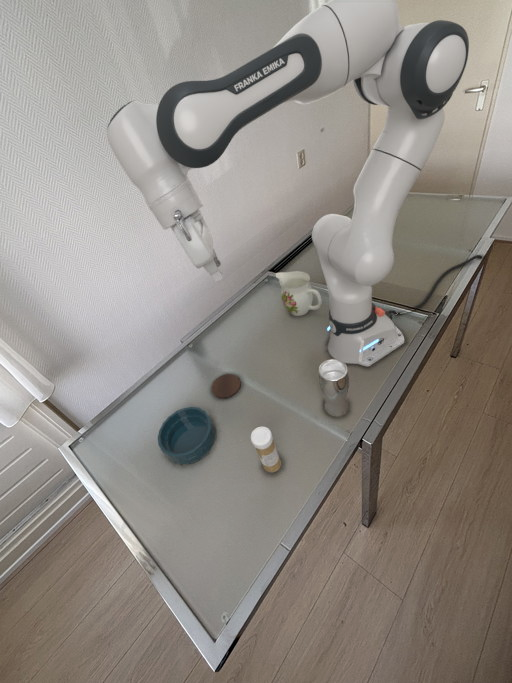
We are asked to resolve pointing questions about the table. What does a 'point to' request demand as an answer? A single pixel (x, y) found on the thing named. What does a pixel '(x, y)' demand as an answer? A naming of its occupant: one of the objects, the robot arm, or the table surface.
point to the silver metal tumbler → (334, 386)
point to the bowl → (187, 435)
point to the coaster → (226, 386)
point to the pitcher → (297, 292)
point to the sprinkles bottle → (266, 448)
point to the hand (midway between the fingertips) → (218, 272)
